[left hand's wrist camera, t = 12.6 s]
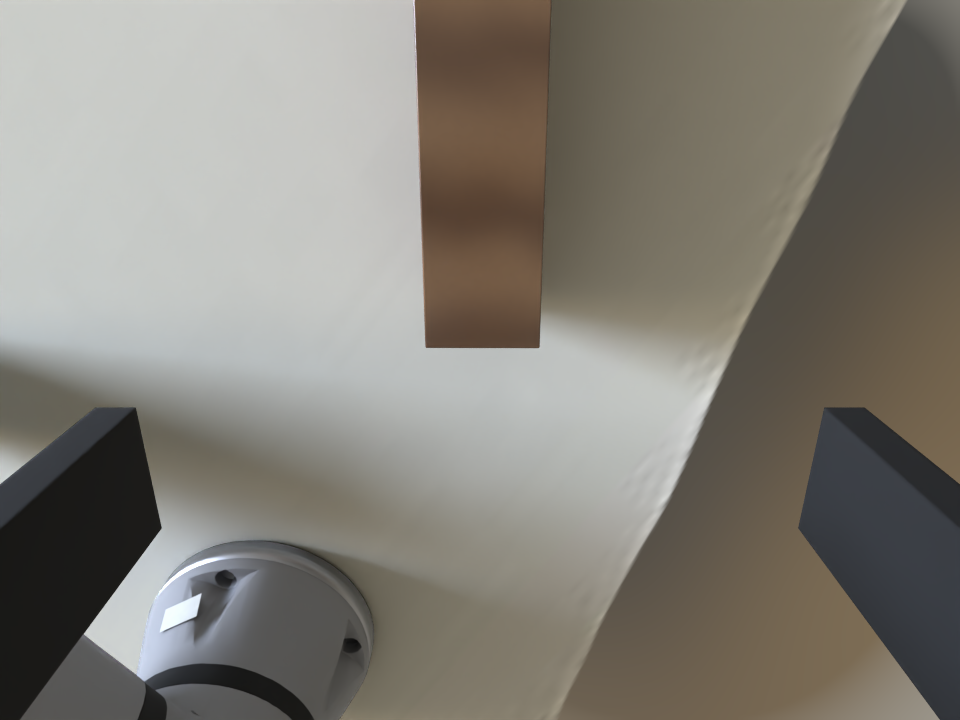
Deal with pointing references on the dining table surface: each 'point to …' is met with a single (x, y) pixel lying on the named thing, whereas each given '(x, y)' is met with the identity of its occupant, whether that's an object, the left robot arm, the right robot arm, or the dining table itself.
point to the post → (482, 168)
